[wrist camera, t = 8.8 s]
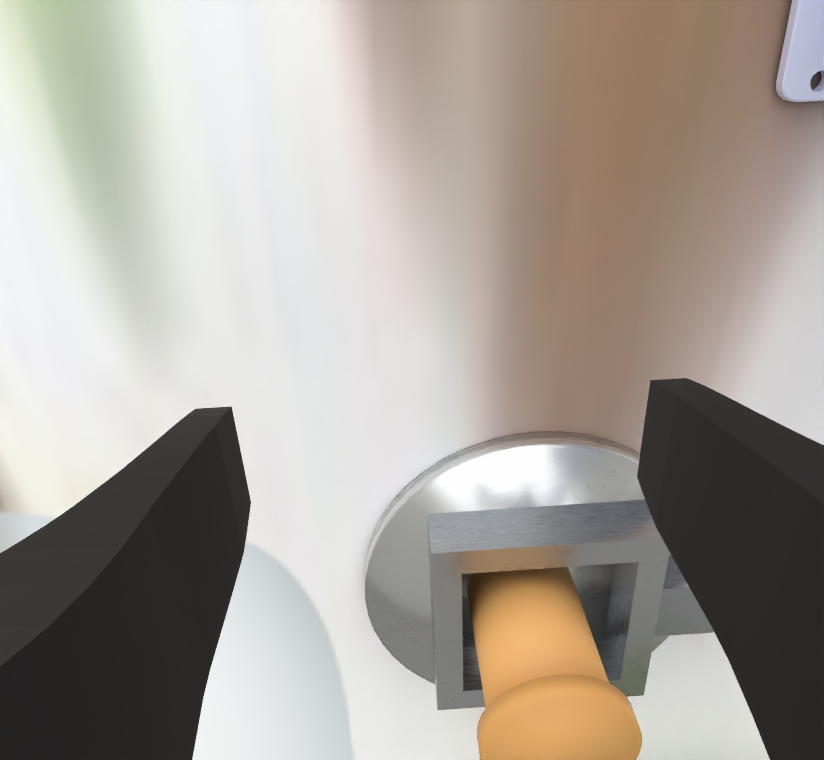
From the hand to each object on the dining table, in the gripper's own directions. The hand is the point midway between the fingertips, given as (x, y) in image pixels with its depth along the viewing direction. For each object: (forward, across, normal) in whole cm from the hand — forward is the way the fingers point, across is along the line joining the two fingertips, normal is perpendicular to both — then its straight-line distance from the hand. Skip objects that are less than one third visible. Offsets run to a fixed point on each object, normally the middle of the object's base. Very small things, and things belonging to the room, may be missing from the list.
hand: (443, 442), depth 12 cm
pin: (+9, -3, +13) cm, 16 cm away
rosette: (+10, -7, +13) cm, 18 cm away
